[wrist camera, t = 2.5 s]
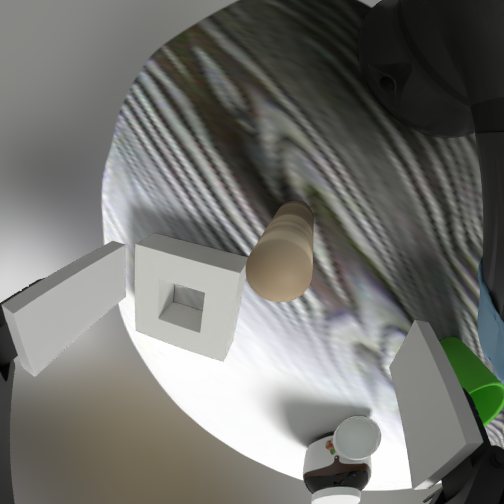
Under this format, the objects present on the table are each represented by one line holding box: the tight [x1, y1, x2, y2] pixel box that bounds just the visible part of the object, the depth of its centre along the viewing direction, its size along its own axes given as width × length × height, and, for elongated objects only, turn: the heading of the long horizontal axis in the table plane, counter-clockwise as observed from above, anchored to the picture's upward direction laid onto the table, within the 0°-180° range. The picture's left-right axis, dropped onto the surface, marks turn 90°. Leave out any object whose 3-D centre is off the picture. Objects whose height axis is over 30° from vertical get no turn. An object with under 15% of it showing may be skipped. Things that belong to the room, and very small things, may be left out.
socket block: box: [135, 233, 248, 362], centre depth 31 cm, size 11×11×4 cm
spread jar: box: [303, 416, 381, 504], centre depth 31 cm, size 12×11×12 cm
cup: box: [439, 337, 504, 427], centre depth 24 cm, size 9×9×11 cm
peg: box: [245, 200, 314, 302], centre depth 22 cm, size 4×4×13 cm
